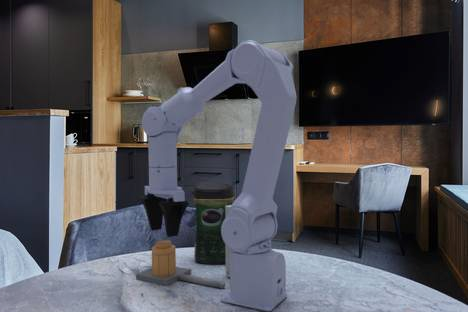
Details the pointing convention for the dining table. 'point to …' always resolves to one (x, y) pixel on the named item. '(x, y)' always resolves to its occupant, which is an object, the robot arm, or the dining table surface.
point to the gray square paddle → (177, 278)
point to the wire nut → (163, 258)
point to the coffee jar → (211, 220)
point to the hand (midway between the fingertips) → (163, 232)
